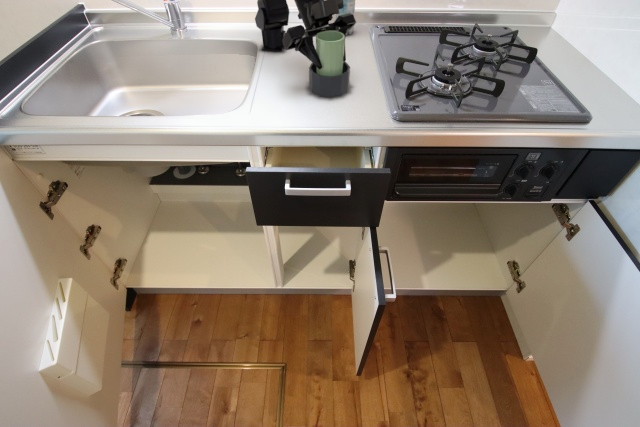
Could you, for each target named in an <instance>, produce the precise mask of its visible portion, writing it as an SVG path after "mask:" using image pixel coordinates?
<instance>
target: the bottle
mask: <svg viewBox="0 0 640 427" xmlns="http://www.w3.org/2000/svg"><path fill="white" fill-rule="evenodd" d="M343 3H344V7H343V8H342V9H340V10H339V14H335V20H336V19H337V18H338V16H339V15H344V14H348V13H351V14H353V15H354V16H355V10H356V9H355V8H356V0H343ZM354 29H355V25H354V26H353V27H352V28H351V29H350V30H349V32H348V33H347V34H346V35H345V36H347V35H352V33H353V31H354Z"/></svg>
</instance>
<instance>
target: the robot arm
mask: <svg viewBox="0 0 640 427" xmlns="http://www.w3.org/2000/svg"><path fill="white" fill-rule="evenodd" d="M293 1H294V3H295V5H296V8H297V11H298V14H297V18H298V20H301V21H302V23H303V25H302V24H299V25H295V26H291V27H287V26H289V17H290V8H289V5H288V2H287V0H257V2H256V4H257V12H256V14H255V18H254V22H255V25H256V27H257V29H259V30H260V31H261V38H262V47H261V51H268V52H280V53H281V52H282V51H283V50H285V51H290V50H294V52H299V53H300V54H302V55H303V56H304V57H305V58H307V59H308V60H309V61H311V63H313V64H314V65H315V66H317V67H318V68H319V69H321V68H322V64H321V61H320V59H319V56H318V54H317V52H316V46H315V45H314V44H315V43H314V37H315V38H316V35H317V34H318V33H319V32H322V31H338V32H341V33H343V34H344V36H345V37H346V36H347V35H348V32H349V30H350V29H351V28H352V27H353V26H354V27H355V25H356V24H357V20H356V17H355V14H354V15H353V14H351V13H348V14H344V15H339V16H338V18H337V19H336V18H335V20H334V21H333V22H331V21H332V20H333V18H334V17H333V16H334V15H336V14H339V10H340V9H342V8H343V7H344V3H343V0H293ZM284 27H287V30H285V28H284ZM346 34H347V35H346ZM346 55H347V54H346V42H345V43H344V62H346V60H347V56H346Z"/></svg>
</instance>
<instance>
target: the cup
mask: <svg viewBox="0 0 640 427" xmlns="http://www.w3.org/2000/svg"><path fill="white" fill-rule="evenodd" d="M344 43H345V44H346V35H345V36H344V34H343V33H341V32H338V31H322V32H319V33H318V34H317V35H316V36H315V49H316V52H317V54H318V56H319V59H320V61H321V64H322V68H321V69H319V68H318V67H317V66H316V73H317V74H319V75H322V76H336V75H341V74H343V62H344Z"/></svg>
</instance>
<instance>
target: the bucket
mask: <svg viewBox="0 0 640 427" xmlns="http://www.w3.org/2000/svg"><path fill="white" fill-rule="evenodd" d="M350 72H351V66H350V65H349V64H348V62H346V61H345V62H343V74H341V75H336V76H322V75H319V74H317V73H316V66H315V65H314V64H313V63H312V62H311V63H310V65H309V67H308V85H309V86H308V88H309V90H310V92H311V93H312V94H313V95H315V96H317V97H320V98H328V99H333V98H337V97H342V96H343V95H345V94H346V93H348V91H349V88H350V74H351V73H350Z"/></svg>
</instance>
